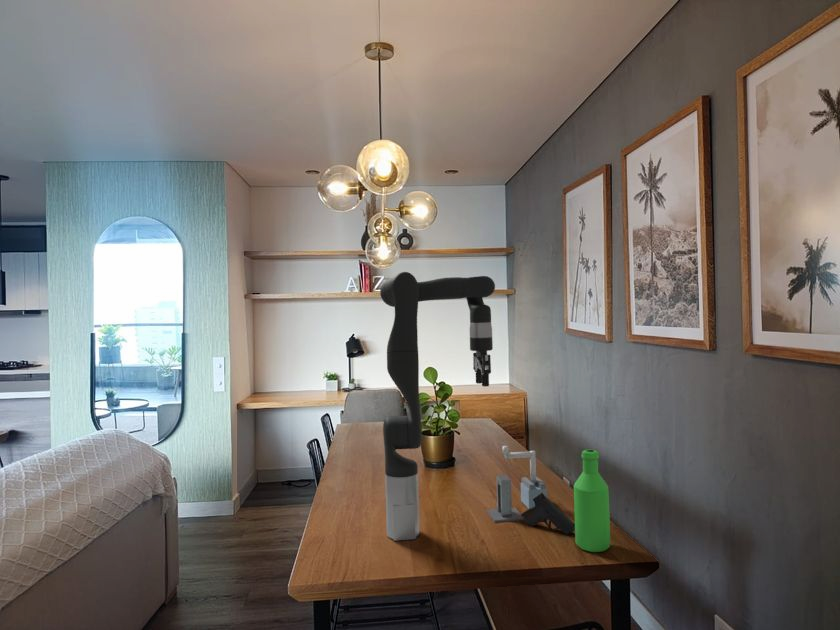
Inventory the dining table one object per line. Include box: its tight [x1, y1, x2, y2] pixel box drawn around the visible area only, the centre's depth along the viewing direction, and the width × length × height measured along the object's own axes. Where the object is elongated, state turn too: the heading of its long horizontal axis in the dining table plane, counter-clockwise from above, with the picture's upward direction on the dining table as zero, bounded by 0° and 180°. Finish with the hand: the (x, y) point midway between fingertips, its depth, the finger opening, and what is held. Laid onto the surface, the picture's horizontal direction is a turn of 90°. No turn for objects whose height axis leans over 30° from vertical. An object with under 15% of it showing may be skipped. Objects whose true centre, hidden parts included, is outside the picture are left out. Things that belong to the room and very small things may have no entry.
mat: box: [486, 507, 525, 523], centre depth 166 cm, size 9×9×1 cm
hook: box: [496, 474, 513, 517], centre depth 167 cm, size 5×3×11 cm, turn 7°
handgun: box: [520, 493, 575, 536], centre depth 155 cm, size 3×14×10 cm
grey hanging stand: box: [502, 445, 548, 510], centre depth 176 cm, size 8×13×19 cm, turn 98°
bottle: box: [573, 449, 611, 553], centre depth 143 cm, size 9×9×25 cm
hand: (482, 384), depth 182 cm, fingers open, 8 cm apart
